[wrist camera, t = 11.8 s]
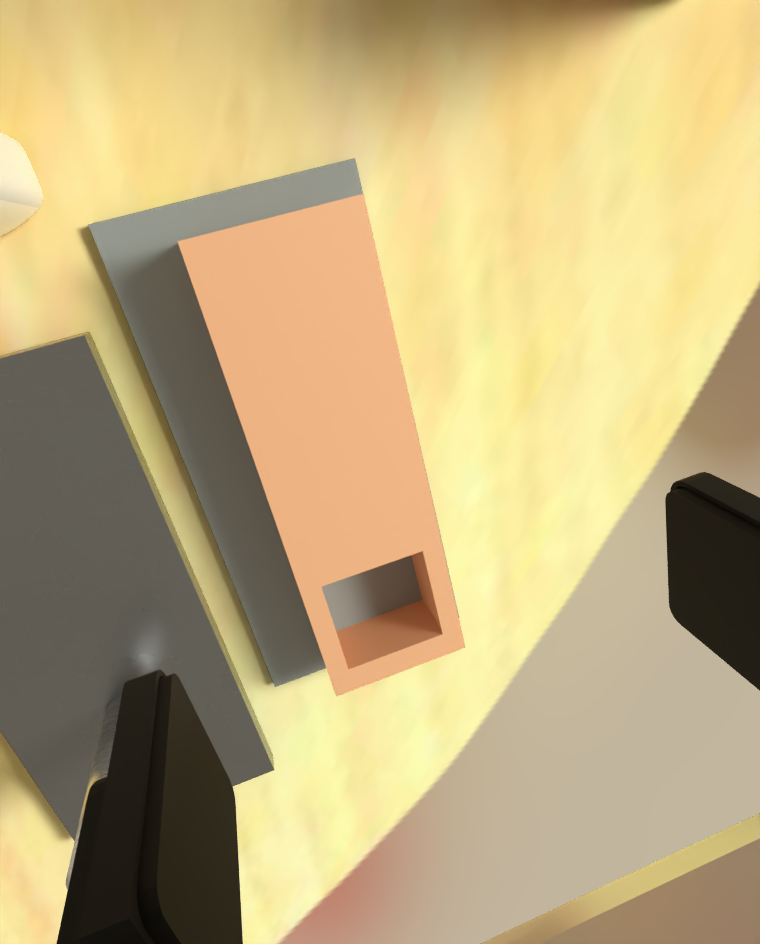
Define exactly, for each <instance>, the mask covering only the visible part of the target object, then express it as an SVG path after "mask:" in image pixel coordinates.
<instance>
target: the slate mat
mask: <svg viewBox="0 0 760 944" xmlns="http://www.w3.org/2000/svg"><path fill="white" fill-rule="evenodd" d="M360 194H363V192H362V187H361V183H360V178H359V174H358V170H357V165H356V161H355V158H354V159H350V160H346V161H342V162H338V163H334V164H330V165H326V166H322V167H318V168H314V169H310V170H306V171H302V172H298V173H294V174H290V175H286V176H282V177H278V178H274V179H270V180H266V181H262V182H258V183H253V184H249V185H245V186H241V187H237V188H233V189H229V190H225V191H221V192H217V193H213V194H209V195H205V196H201V197H197V198H193V199H189V200H185V201H181V202H177V203H173V204H169V205H165V206H161V207H157V208H153V209H149V210H145V211H141V212H137V213H133V214H129V215H125V216H121V217H117V218H113V219H109V220H105V221H101V222H97V223H93V224H89V225H88V226H89V228H90V230H91V233H92V235H93V238H94V240H95V243H96V245H97V248H98V250H99V253H100V255H101V258H102V260H103V263H104V265H105V268H106V270H107V273H108V275H109V277H110V280H111V282H112V285H113V287H114V290H115V292H116V295H117V297H118V300H119V302H120V305H121V307H122V310H123V312H124V315H125V317H126V320H127V322H128V324H129V327H130V329H131V332H132V334H133V337H134V339H135V342H136V344H137V347H138V349H139V352H140V354H141V357H142V359H143V362H144V364H145V367H146V369H147V371H148V374H149V376H150V379H151V381H152V384H153V386H154V389H155V391H156V394H157V396H158V399H159V401H160V404H161V406H162V409H163V411H164V414H165V416H166V418H167V421H168V423H169V426H170V428H171V431H172V433H173V436H174V438H175V441H176V443H177V446H178V448H179V451H180V453H181V456H182V458H183V461H184V463H185V465H186V468H187V470H188V473H189V475H190V478H191V480H192V483H193V485H194V488H195V490H196V493H197V495H198V498H199V500H200V503H201V505H202V508H203V510H204V512H205V515H206V517H207V520H208V522H209V525H210V527H211V530H212V532H213V535H214V537H215V540H216V542H217V545H218V547H219V550H220V552H221V555H222V557H223V559H224V562H225V564H226V567H227V569H228V572H229V574H230V577H231V579H232V582H233V584H234V587H235V589H236V592H237V594H238V597H239V599H240V602H241V604H242V606H243V609H244V611H245V614H246V616H247V619H248V621H249V624H250V626H251V629H252V631H253V634H254V636H255V639H256V641H257V644H258V646H259V649H260V651H261V653H262V656H263V658H264V661H265V663H266V666H267V668H268V671H269V673H270V676H271V678H272V681H273V683H274V686H275V687H276V686H279V685H281V684H284V683H287V682H289V681H292V680H295V679H297V678H300V677H303V676H305V675H308V674H311V673H313V672H316V671H319V670H322V669H324V668H326V665H325V662H324V660H323V657H322V654H321V651H320V648H319V645H318V642H317V640H316V637H315V634H314V631H313V628H312V625H311V622H310V619H309V617H308V614H307V611H306V608H305V605H304V602H303V599H302V597H301V594H300V591H299V588H298V585H297V582H296V579H295V577H294V574H293V571H292V568H291V565H290V562H289V559H288V556H287V554H286V551H285V548H284V545H283V542H282V539H281V536H280V534H279V531H278V528H277V525H276V522H275V519H274V516H273V514H272V511H271V508H270V505H269V502H268V499H267V496H266V494H265V491H264V488H263V485H262V482H261V479H260V476H259V473H258V471H257V468H256V465H255V462H254V459H253V456H252V453H251V451H250V448H249V445H248V442H247V439H246V436H245V433H244V431H243V428H242V425H241V422H240V419H239V416H238V413H237V410H236V408H235V405H234V402H233V399H232V396H231V393H230V390H229V388H228V385H227V382H226V379H225V376H224V373H223V370H222V368H221V365H220V362H219V359H218V356H217V353H216V350H215V348H214V345H213V342H212V339H211V336H210V333H209V330H208V327H207V325H206V322H205V319H204V316H203V313H202V310H201V307H200V305H199V302H198V299H197V296H196V293H195V290H194V287H193V285H192V282H191V279H190V276H189V273H188V270H187V267H186V264H185V262H184V259H183V256H182V253H181V250H180V247H179V244H178V242H177V241H181V240H185V239H188V238H192V237H196V236H200V235H204V234H208V233H212V232H216V231H220V230H224V229H228V228H231V227H235V226H239V225H243V224H247V223H251V222H255V221H259V220H263V219H267V218H271V217H274V216H278V215H282V214H286V213H290V212H294V211H298V210H302V209H306V208H310V207H314V206H317V205H321V204H325V203H329V202H333V201H337V200H341V199H345V198H349V197H353V196H357V195H360ZM403 373H404V372H403ZM408 395H409V394H408ZM410 404H411V403H410ZM412 413H413V412H412ZM413 417H414V416H413ZM414 422H415V421H414ZM415 426H416V425H415ZM417 435H418V434H417ZM418 439H419V438H418ZM419 444H420V443H419ZM420 448H421V447H420ZM421 453H422V452H421ZM422 457H423V456H422ZM423 462H424V461H423ZM424 466H425V465H424ZM425 471H426V469H425ZM426 475H427V474H426ZM427 479H428V478H427ZM428 484H429V483H428ZM429 488H430V487H429ZM430 493H431V491H430ZM431 497H432V496H431ZM432 502H433V500H432ZM433 506H434V505H433ZM434 511H435V509H434ZM435 515H436V513H435ZM436 520H437V518H436ZM437 524H438V522H437ZM438 529H439V527H438ZM439 533H440V531H439ZM440 537H441V535H440ZM441 542H442V540H441ZM442 546H443V544H442ZM443 551H444V549H443ZM444 555H445V553H444ZM445 560H446V557H445ZM446 564H447V562H446ZM447 569H448V566H447ZM448 573H449V571H448ZM449 578H450V575H449ZM450 582H451V579H450ZM451 586H452V584H451ZM322 590H323V593H324V596H325V599H326V602H327V605H328V608H329V611H330V614H331V617H332V620H333V623H334V626H335V629H336V631H337V630H340V629H343V628H346V627H348V626H351V625H354V624H357V623H359V622H362V621H365V620H368V619H370V618H373V617H376V616H379V615H381V614H384V613H387V612H390V611H392V610H395V609H398V608H401V607H403V606H406V605H409V604H412V603H414V602H417V601H420V600H422V596H421V592H420V588H419V584H418V580H417V576H416V572H415V568H414V564H413V560H412V556H411V555H410V556H407V557H404V558H402V559H399V560H396V561H393V562H390V563H387V564H385V565H382V566H379V567H376V568H373V569H370V570H367V571H365V572H362V573H359V574H356V575H353V576H350V577H348V578H345V579H342V580H339V581H336V582H333V583H330V584H328V585H325V586H322ZM452 591H453V588H452ZM453 595H454V593H453ZM454 600H455V597H454ZM455 604H456V602H455ZM456 609H457V606H456ZM457 613H458V610H457ZM458 618H459V615H458Z"/></svg>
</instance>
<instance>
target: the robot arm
mask: <svg viewBox="0 0 760 944" xmlns="http://www.w3.org/2000/svg"><path fill="white" fill-rule="evenodd" d="M666 529H667V558H668V586H669V606H670V610H671V612H672V614H673V616H674V618H675V619H676V620H677V621H678V622H679V623H680V624H681V625H682V626H683V627H684V628H686V629H687V630H688V631H689V632H690V633H691V634H693V635H694V636H695V637H696V638H697V639H699V640H700V641H701V642H702V643H703V644H705V645H706V646H707V647H708V648H709V649H711V650H712V651H713V652H714V653H715V654H717V655H718V656H719V657H720V658H721V659H723V660H724V661H725V662H726V663H727V664H729V665H730V666H731V667H732V668H733V669H735V670H736V671H737V672H738V673H739V674H741V675H742V676H743V677H744V678H746V679H747V680H748V681H749V682H750V683H751V684H753V685H754V686H755V687H756V688H757V689H759V690H760V498H759V497H757V496H755V495H753V494H751V493H749V492H747V491H745V490H743V489H741V488H739V487H736V486H734V485H732V484H730V483H728V482H726V481H724V480H722V479H720V478H718V477H716V476H714V475H712V474H709V473H706V472H702V473H698V474H696V475H693V476H690V477H687V478H685V479H682V480H679V481H676V482H675V483H673V485H672V487H671V491H670V492H669V493H668V494H667V496H666ZM57 944H243V941H242V922H241V902H240V883H239V863H238V844H237V824H236V805H235V796H234V791H233V787H232V784H231V781H230V779H229V777H228V775H227V773H226V771H225V769H224V767H223V765H222V763H221V761H220V759H219V757H218V755H217V753H216V751H215V749H214V747H213V745H212V743H211V741H210V739H209V737H208V735H207V733H206V731H205V729H204V727H203V725H202V723H201V721H200V719H199V717H198V715H197V713H196V711H195V709H194V707H193V705H192V703H191V701H190V699H189V697H188V695H187V693H186V691H185V689H184V687H183V685H182V683H181V681H180V679H179V677H178V676H177V675H176V674H175V673H174V674H171V675H168V676H166V675H165V673H164V672H163V671H162V670H156V671H153V672H151V673H148V674H145V675H142V676H140V677H137V678H134V679H131V680H129V681H126V682H125V683H124V686H123V691H122V696H121V702H120V708H119V713H118V719H117V724H116V730H115V735H114V741H113V746H112V752H111V757H110V763H109V768H108V774H107V777H105V778H102V779H100V780H97V781H95V782H94V783H93V785H92V786H91V787H90V790H89V793H88V796H87V801H86V806H85V811H84V815H83V820H82V825H81V830H80V835H79V839H78V844H77V849H76V854H75V859H74V863H73V868H72V873H71V878H70V883H69V887H68V892H67V897H66V902H65V906H64V911H63V916H62V921H61V926H60V930H59V935H58V940H57ZM482 944H760V813H759V814H757V815H755V816H753V817H751V818H748V819H746V820H744V821H742V822H740V823H738V824H736V825H733V826H731V827H729V828H727V829H725V830H723V831H720V832H718V833H716V834H714V835H712V836H710V837H707V838H705V839H703V840H701V841H699V842H697V843H695V844H693V845H690V846H688V847H686V848H684V849H682V850H680V851H677V852H675V853H673V854H671V855H669V856H667V857H664V858H662V859H660V860H658V861H656V862H654V863H652V864H650V865H647V866H645V867H643V868H641V869H639V870H637V871H634V872H632V873H630V874H628V875H626V876H624V877H622V878H619V879H617V880H615V881H613V882H611V883H609V884H607V885H605V886H602V887H600V888H598V889H596V890H594V891H592V892H589V893H587V894H585V895H583V896H581V897H579V898H577V899H574V900H573V901H570V902H568V903H566V904H564V905H562V906H560V907H558V908H555V909H553V910H551V911H549V912H547V913H545V914H543V915H541V916H539V917H536V918H535V919H532V920H530V921H528V922H526V923H524V924H522V925H519V926H517V927H515V928H513V929H511V930H509V931H507V932H505V933H503V934H500V935H498V936H496V937H494V938H492V939H490V940H488V941H486V942H483V943H482Z"/></svg>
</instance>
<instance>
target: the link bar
mask: <svg viewBox="0 0 760 944" xmlns="http://www.w3.org/2000/svg"><path fill="white" fill-rule="evenodd" d="M177 242H178V244H179V247H180V250H181V253H182V256H183V259H184V262H185V264H186V267H187V270H188V273H189V276H190V279H191V282H192V285H193V287H194V290H195V293H196V296H197V299H198V302H199V305H200V307H201V310H202V313H203V316H204V319H205V322H206V325H207V327H208V330H209V333H210V336H211V339H212V342H213V345H214V348H215V350H216V353H217V356H218V359H219V362H220V365H221V368H222V370H223V373H224V376H225V379H226V382H227V385H228V388H229V390H230V393H231V396H232V399H233V402H234V405H235V408H236V410H237V413H238V416H239V419H240V422H241V425H242V428H243V431H244V433H245V436H246V439H247V442H248V445H249V448H250V451H251V453H252V456H253V459H254V462H255V465H256V468H257V471H258V473H259V476H260V479H261V482H262V485H263V488H264V491H265V494H266V496H267V499H268V502H269V505H270V508H271V511H272V514H273V516H274V519H275V522H276V525H277V528H278V531H279V534H280V536H281V539H282V542H283V545H284V548H285V551H286V554H287V556H288V559H289V562H290V565H291V568H292V571H293V574H294V577H295V579H296V582H297V585H298V588H299V591H300V594H301V597H302V599H303V602H304V605H305V608H306V611H307V614H308V617H309V619H310V622H311V625H312V628H313V631H314V634H315V637H316V640H317V642H318V645H319V648H320V651H321V654H322V657H323V660H324V662H325V665H326V668H327V671H328V674H329V677H330V680H331V682H332V685H333V688H334V691H335V694H336V696H339V695H341V694H344V693H347V692H349V691H352V690H355V689H357V688H360V687H362V686H365V685H368V684H370V683H373V682H376V681H378V680H381V679H383V678H386V677H389V676H391V675H394V674H397V673H399V672H402V671H404V670H407V669H410V668H412V667H415V666H418V665H420V664H423V663H425V662H428V661H431V660H433V659H436V658H439V657H441V656H444V655H447V654H449V653H452V652H454V651H457V650H460V649H462V648H465V644H464V640H463V635H462V631H461V627H460V622H459V618H458V613H457V609H456V604H455V600H454V595H453V591H452V586H451V582H450V578H449V573H448V569H447V564H446V560H445V555H444V551H443V546H442V542H441V537H440V533H439V529H438V524H437V520H436V515H435V511H434V506H433V502H432V497H431V493H430V488H429V484H428V479H427V475H426V471H425V466H424V462H423V457H422V453H421V448H420V444H419V439H418V435H417V430H416V426H415V422H414V417H413V413H412V408H411V404H410V399H409V395H408V390H407V386H406V381H405V377H404V373H403V368H402V364H401V359H400V355H399V350H398V346H397V341H396V337H395V332H394V328H393V324H392V319H391V315H390V310H389V306H388V301H387V297H386V292H385V288H384V283H383V279H382V274H381V270H380V266H379V261H378V257H377V252H376V248H375V243H374V239H373V234H372V230H371V225H370V221H369V217H368V212H367V208H366V203H365V199H364V194H360V195H357V196H353V197H349V198H345V199H341V200H337V201H333V202H329V203H325V204H321V205H317V206H314V207H310V208H306V209H302V210H298V211H294V212H290V213H286V214H282V215H278V216H274V217H271V218H267V219H263V220H259V221H255V222H251V223H247V224H243V225H239V226H235V227H231V228H228V229H224V230H220V231H216V232H212V233H208V234H204V235H200V236H196V237H192V238H188V239H185V240H181V241H177ZM410 555H411V556H412V560H413V564H414V568H415V572H416V576H417V580H418V584H419V588H420V592H421V596H422V600H420V601H417V602H414V603H412V604H409V605H406V606H403V607H401V608H398V609H395V610H392V611H390V612H387V613H384V614H381V615H379V616H376V617H373V618H370V619H368V620H365V621H362V622H359V623H357V624H354V625H351V626H348V627H346V628H343V629H340V630H337V631H336V629H335V626H334V623H333V620H332V617H331V614H330V611H329V608H328V605H327V602H326V599H325V596H324V593H323V590H322V586H325V585H328V584H330V583H333V582H336V581H339V580H342V579H345V578H348V577H350V576H353V575H356V574H359V573H362V572H365V571H367V570H370V569H373V568H376V567H379V566H382V565H385V564H387V563H390V562H393V561H396V560H399V559H402V558H404V557H407V556H410Z"/></svg>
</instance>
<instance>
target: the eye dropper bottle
mask: <svg viewBox="0 0 760 944" xmlns="http://www.w3.org/2000/svg"><path fill="white" fill-rule="evenodd" d="M42 203H43V193H42V190H41V187H40V185H39V182H38V180H37V177H36V175H35V173H34V170H33V168H32V166H31V163H30V161H29V159H28V157H27V155H26V153H25V150H24V149H23V148H22V147H21V145H20V144H19V143H18V142H17V141H16V140H14V139H12V138H10V137H8V136H7V135H5V134H3V133H1V132H0V237H1V236H3V235H5V234H7V233H9V232H11V231H12V230H14V229H16V228H17V227H19V226H20V225H22V224H23V223H25V222H26V221H27V220H29V219H30V218H31V217H32V216H33V215H34V214H35V213H36V212H37V211H38V210H39V209H40V208H41V206H42Z"/></svg>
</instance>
